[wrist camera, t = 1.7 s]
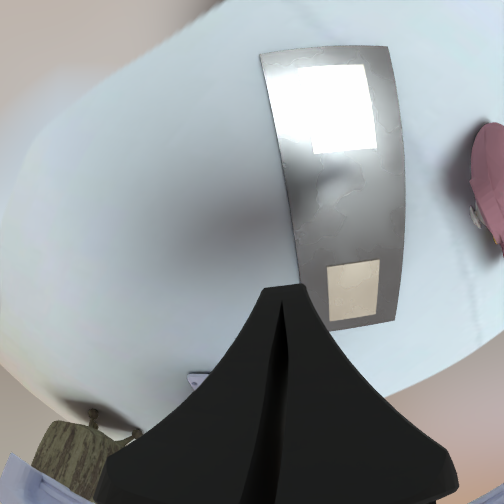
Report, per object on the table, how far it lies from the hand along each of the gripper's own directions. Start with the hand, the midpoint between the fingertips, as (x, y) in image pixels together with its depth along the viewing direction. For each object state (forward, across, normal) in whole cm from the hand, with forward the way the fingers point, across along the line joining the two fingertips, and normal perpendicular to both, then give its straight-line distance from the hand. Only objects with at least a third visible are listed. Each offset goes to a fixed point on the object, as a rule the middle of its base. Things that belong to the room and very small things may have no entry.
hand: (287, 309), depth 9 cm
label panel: (+6, -4, -1) cm, 7 cm away
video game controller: (+6, -14, 0) cm, 15 cm away
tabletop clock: (+6, +30, +25) cm, 39 cm away
